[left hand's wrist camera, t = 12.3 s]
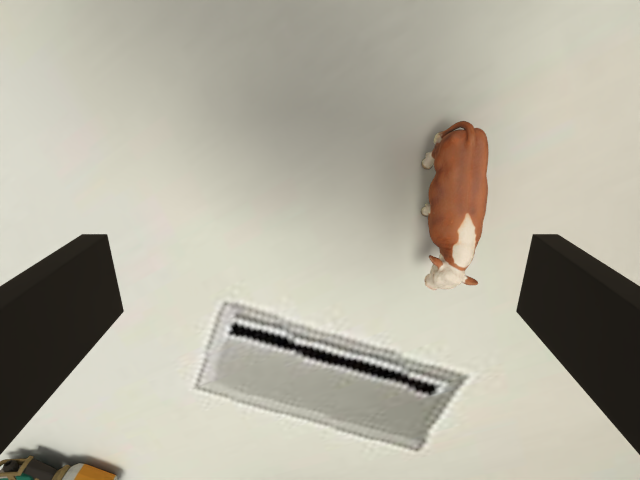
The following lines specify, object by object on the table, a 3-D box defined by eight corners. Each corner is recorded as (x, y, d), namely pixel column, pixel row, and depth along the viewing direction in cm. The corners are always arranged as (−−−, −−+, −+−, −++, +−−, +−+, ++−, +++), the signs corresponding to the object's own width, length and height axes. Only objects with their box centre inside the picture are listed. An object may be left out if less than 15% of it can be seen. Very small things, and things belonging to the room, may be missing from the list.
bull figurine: (404, 260, 38) (425, 303, 30) (424, 115, 33) (456, 122, 26) (448, 263, 38) (481, 306, 30) (476, 118, 33) (522, 126, 26)
